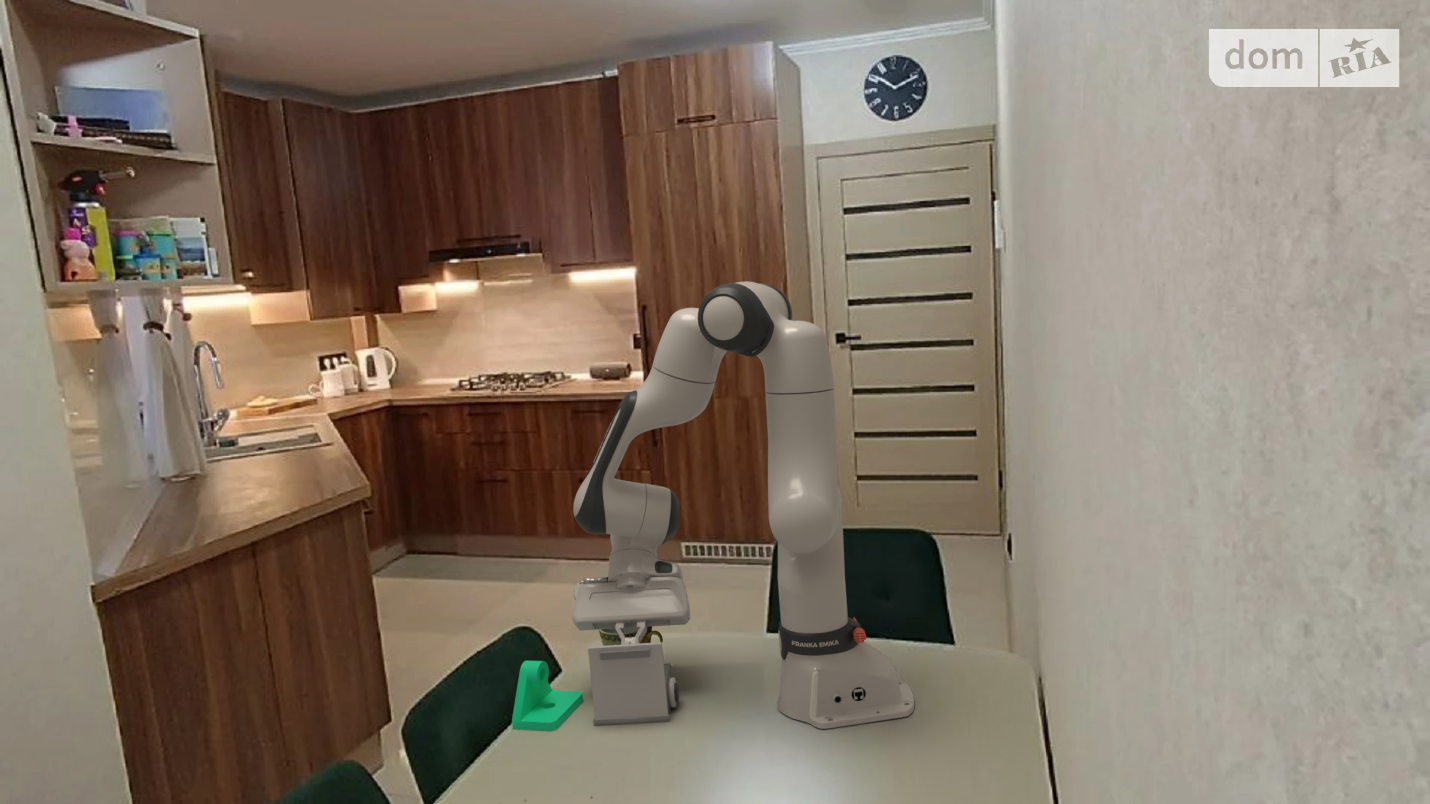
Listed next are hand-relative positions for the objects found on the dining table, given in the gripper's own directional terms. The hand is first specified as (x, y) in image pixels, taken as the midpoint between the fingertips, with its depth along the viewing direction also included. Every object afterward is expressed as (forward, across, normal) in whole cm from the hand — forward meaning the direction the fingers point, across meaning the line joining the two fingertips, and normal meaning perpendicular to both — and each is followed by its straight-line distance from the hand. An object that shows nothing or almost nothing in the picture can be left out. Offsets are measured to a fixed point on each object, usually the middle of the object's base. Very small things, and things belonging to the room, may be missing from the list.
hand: (630, 649), depth 155 cm
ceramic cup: (-3, -2, +19) cm, 19 cm away
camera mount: (+9, -15, +8) cm, 19 cm away
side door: (+11, 0, +3) cm, 12 cm away
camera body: (+8, 0, +8) cm, 11 cm away
